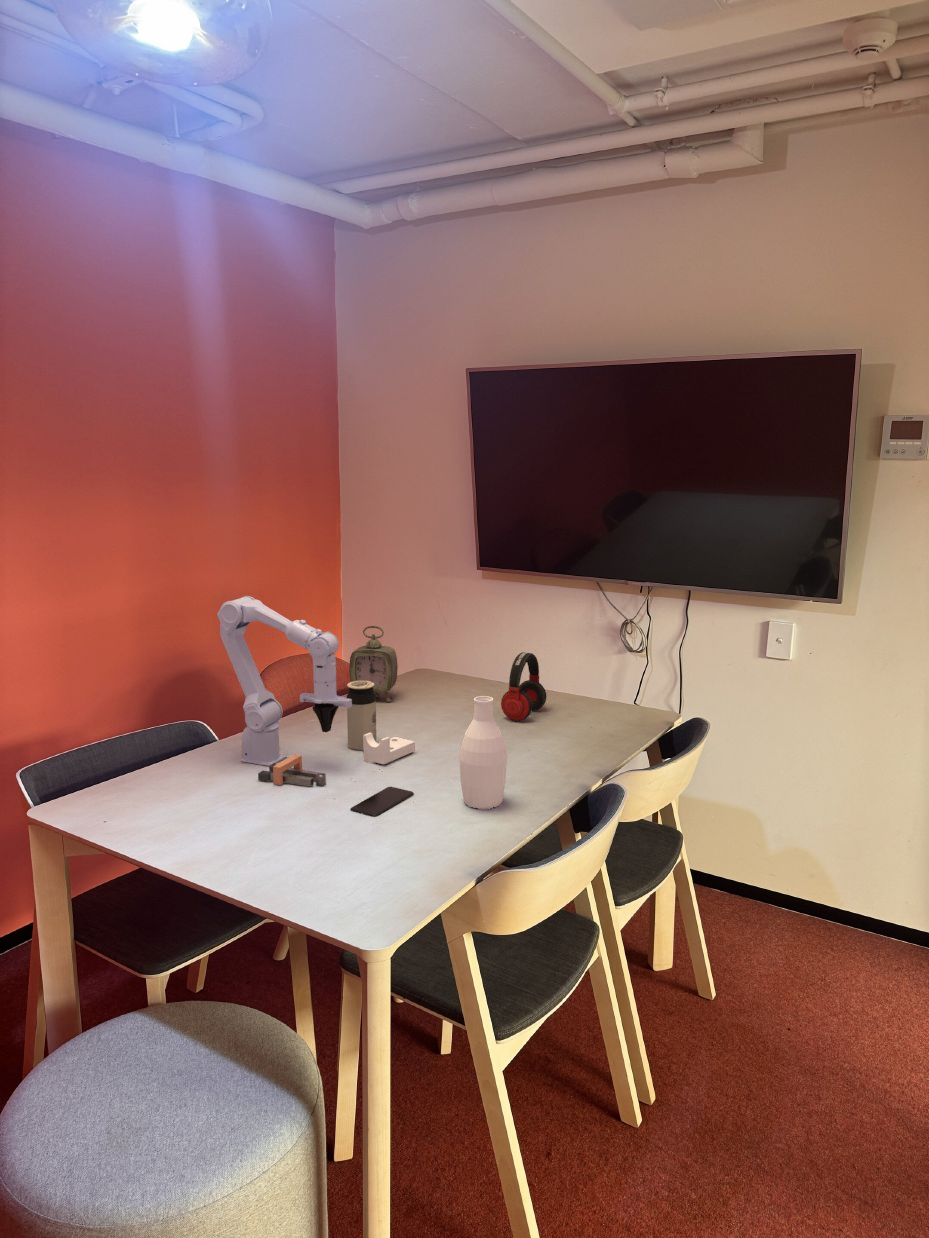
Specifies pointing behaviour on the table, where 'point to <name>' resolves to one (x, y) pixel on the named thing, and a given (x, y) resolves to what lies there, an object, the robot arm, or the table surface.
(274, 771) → the orange bridge block
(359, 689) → the travel mug
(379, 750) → the bracket
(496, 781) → the bottle
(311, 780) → the tong arm
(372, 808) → the smartphone
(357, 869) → the table surface
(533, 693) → the headphones
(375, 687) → the tabletop clock
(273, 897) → the table surface
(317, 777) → the base
